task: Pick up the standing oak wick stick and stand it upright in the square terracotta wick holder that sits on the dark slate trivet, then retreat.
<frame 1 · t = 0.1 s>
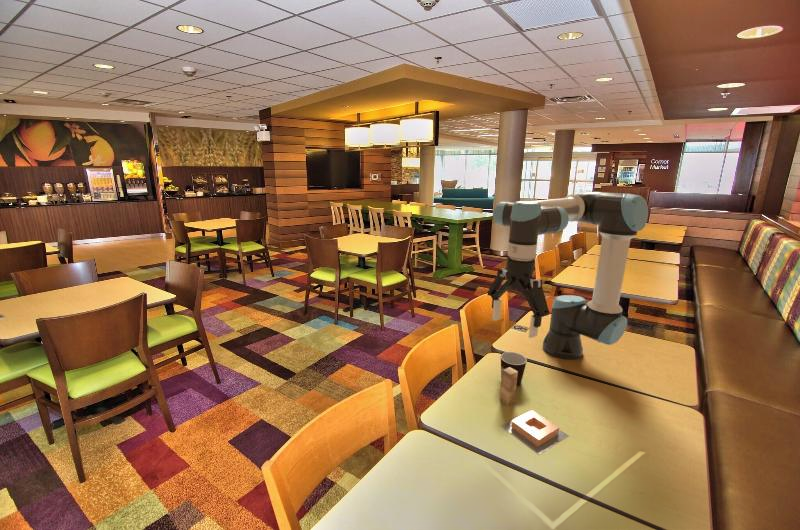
hand: (513, 327, 110), 28 cm above the table, fingers open, 13 cm apart
slate trivet: (534, 433, 107), on the table
wick holder: (534, 430, 107), resting on slate trivet
wick stick: (506, 403, 120), on the table
coffee mug: (510, 381, 132), on the table
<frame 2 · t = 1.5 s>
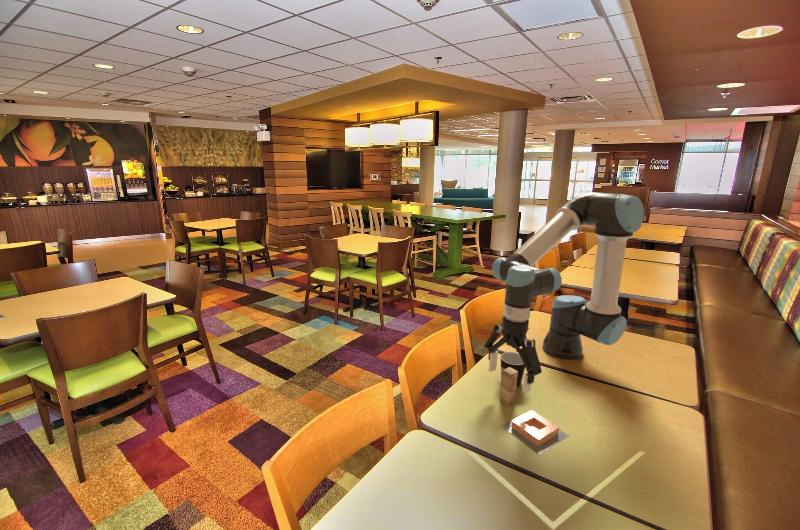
hand: (508, 380, 117), 9 cm above the table, fingers open, 13 cm apart
nothing on the table moved.
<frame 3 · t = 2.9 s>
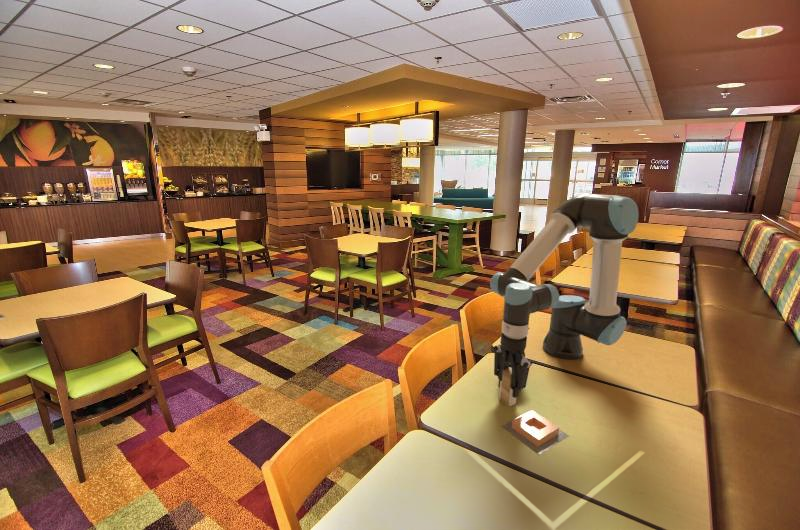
hand: (507, 401, 119), 1 cm above the table, fingers closed on wick stick, 3 cm apart
wick stick: (506, 403, 120), on the table, touching gripper
everything else where it was.
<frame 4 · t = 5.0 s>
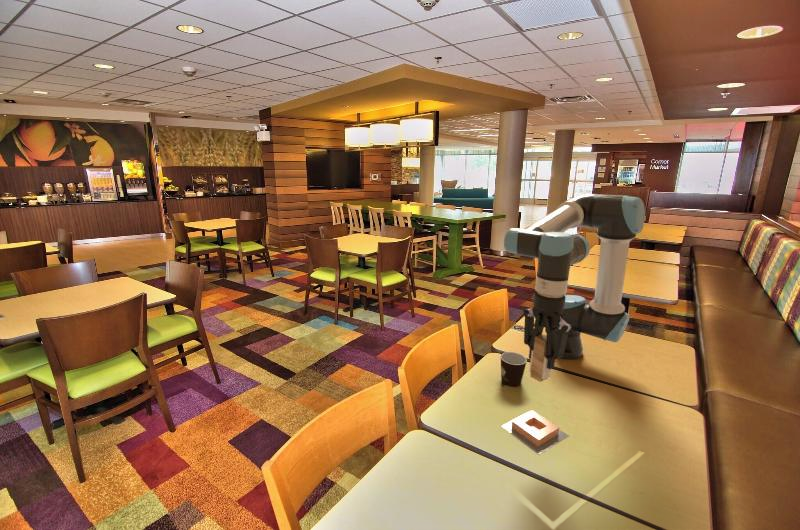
hand: (539, 374, 102), 19 cm above the table, fingers closed on wick stick, 3 cm apart
wick stick: (538, 377, 102), point 18 cm above the table, touching gripper
everything else where it was.
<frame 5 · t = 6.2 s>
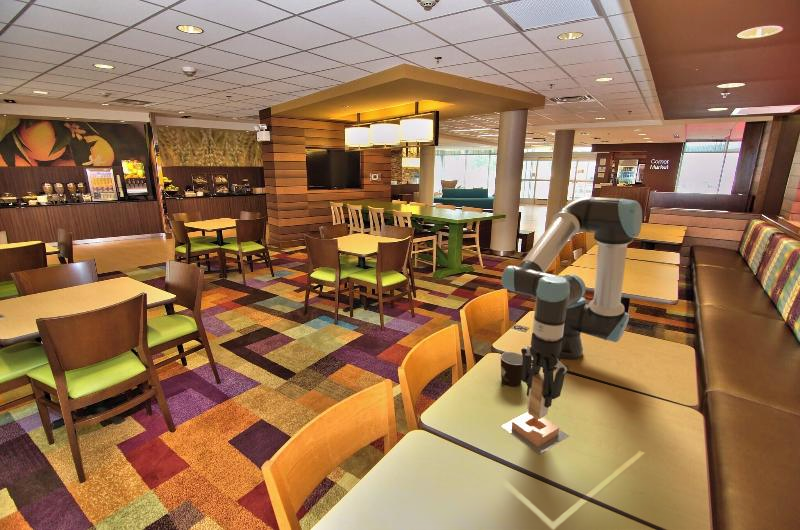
hand: (537, 411, 105), 8 cm above the table, fingers closed on wick stick, 3 cm apart
wick stick: (536, 414, 105), point 6 cm above the table, touching gripper
everything else where it was.
when the fingers open (4 cm above the table, at t = 7.1 s): wick stick drops 1 cm, resting on wick holder.
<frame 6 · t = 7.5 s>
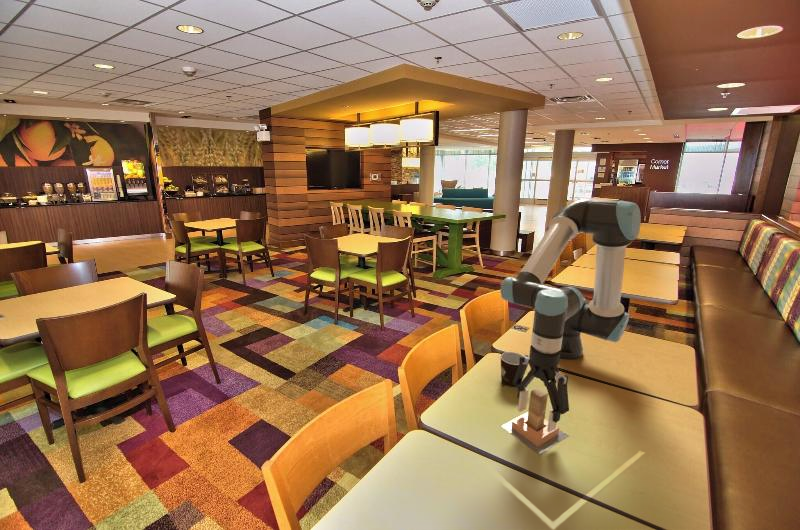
hand: (536, 419, 105), 5 cm above the table, fingers open, 9 cm apart
wick stick: (534, 429, 106), point 2 cm above the table, touching wick holder
everything else where it was.
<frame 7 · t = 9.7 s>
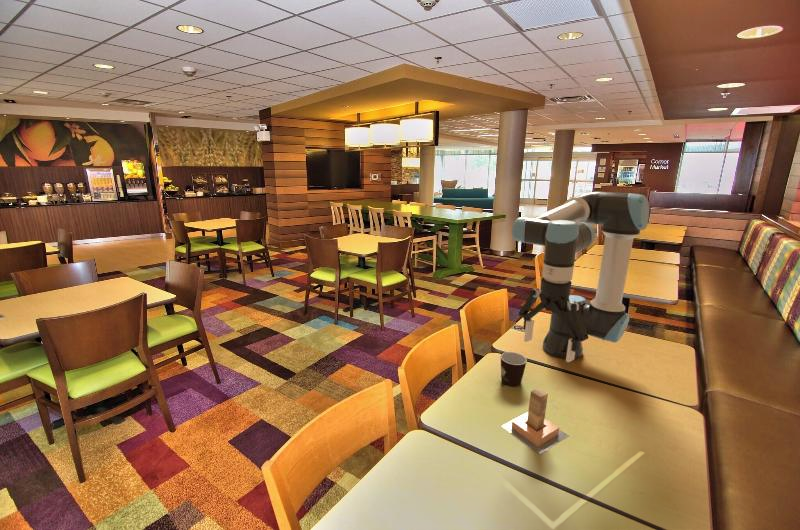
hand: (547, 350, 106), 23 cm above the table, fingers open, 13 cm apart
nothing on the table moved.
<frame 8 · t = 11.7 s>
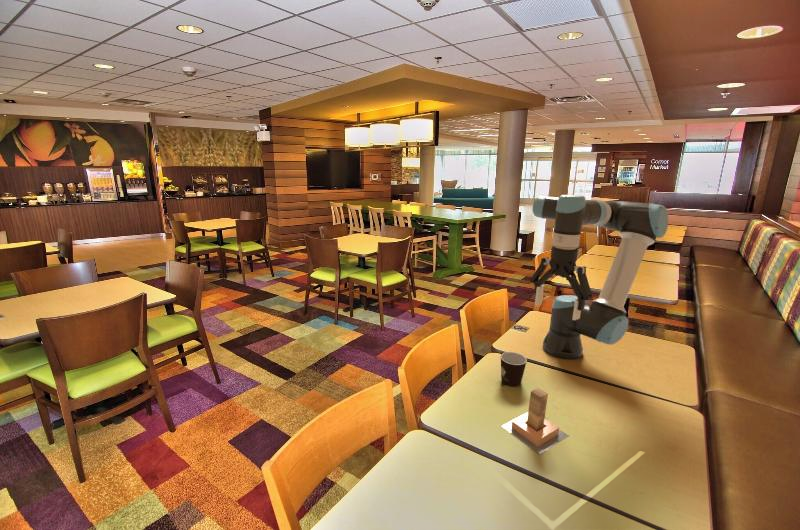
hand: (556, 311, 119), 29 cm above the table, fingers open, 13 cm apart
nothing on the table moved.
at the end: wick stick 0.1 cm off-centre on the wick holder, point 0.6 cm above the wick holder's base; wick stick tilted 0°; the gripper is holding nothing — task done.
